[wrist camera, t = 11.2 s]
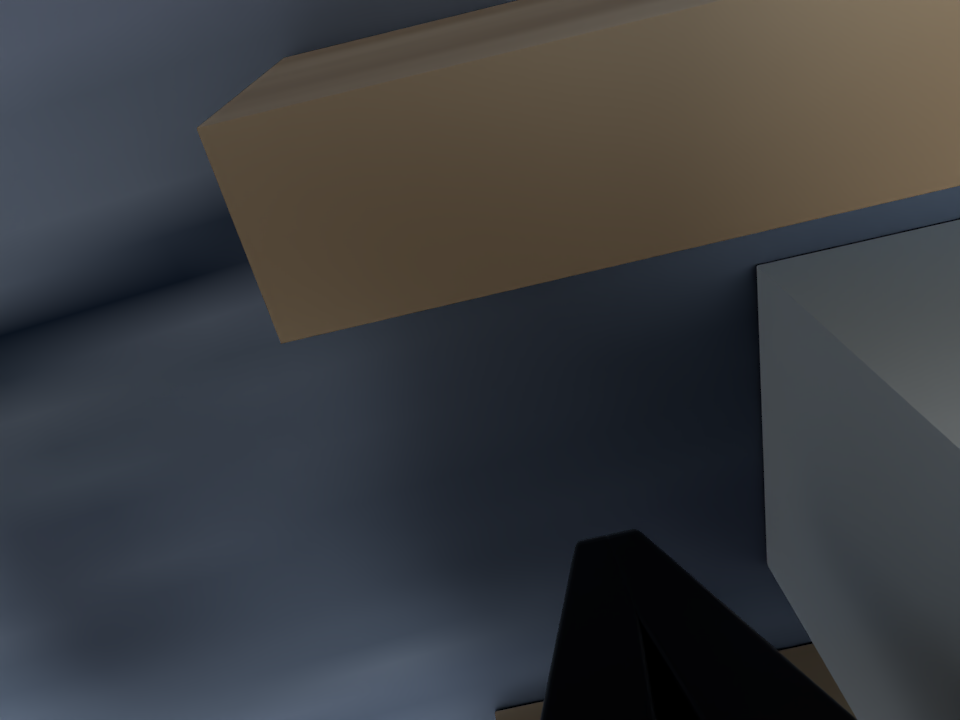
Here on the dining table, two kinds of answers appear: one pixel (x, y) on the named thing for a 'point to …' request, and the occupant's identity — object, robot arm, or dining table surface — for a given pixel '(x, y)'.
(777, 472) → the plug block
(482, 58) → the channel
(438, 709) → the dining table surface
